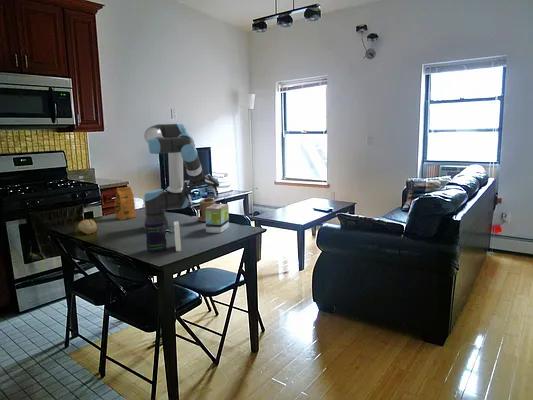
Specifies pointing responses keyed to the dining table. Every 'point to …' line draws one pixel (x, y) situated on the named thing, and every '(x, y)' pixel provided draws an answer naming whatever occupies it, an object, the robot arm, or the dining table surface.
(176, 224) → the tile
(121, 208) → the coffee package
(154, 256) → the dining table surface
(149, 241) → the storage jar
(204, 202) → the stone cup
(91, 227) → the bread roll
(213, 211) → the tea box
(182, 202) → the robot arm
